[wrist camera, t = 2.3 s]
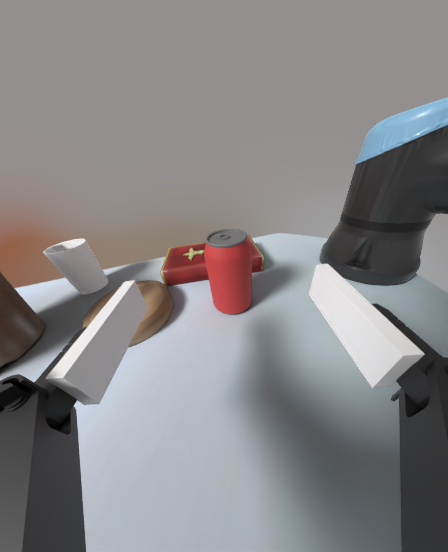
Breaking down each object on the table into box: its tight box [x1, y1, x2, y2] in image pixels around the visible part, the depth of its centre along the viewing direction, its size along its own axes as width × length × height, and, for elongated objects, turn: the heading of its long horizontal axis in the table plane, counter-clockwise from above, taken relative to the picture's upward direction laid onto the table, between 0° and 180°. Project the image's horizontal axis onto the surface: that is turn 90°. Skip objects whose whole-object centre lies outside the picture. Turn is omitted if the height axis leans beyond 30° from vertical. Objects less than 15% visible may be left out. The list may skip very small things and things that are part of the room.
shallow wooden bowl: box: [83, 280, 173, 347], centre depth 28 cm, size 13×13×2 cm
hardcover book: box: [161, 236, 264, 286], centre depth 39 cm, size 12×21×4 cm, turn 97°
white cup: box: [44, 239, 108, 295], centre depth 34 cm, size 7×7×10 cm
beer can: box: [204, 229, 252, 314], centre depth 25 cm, size 7×7×12 cm
